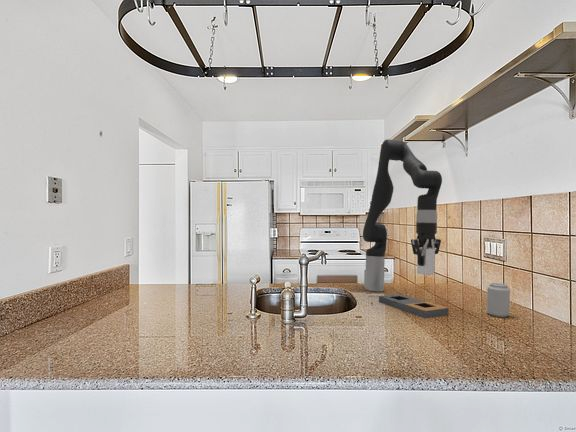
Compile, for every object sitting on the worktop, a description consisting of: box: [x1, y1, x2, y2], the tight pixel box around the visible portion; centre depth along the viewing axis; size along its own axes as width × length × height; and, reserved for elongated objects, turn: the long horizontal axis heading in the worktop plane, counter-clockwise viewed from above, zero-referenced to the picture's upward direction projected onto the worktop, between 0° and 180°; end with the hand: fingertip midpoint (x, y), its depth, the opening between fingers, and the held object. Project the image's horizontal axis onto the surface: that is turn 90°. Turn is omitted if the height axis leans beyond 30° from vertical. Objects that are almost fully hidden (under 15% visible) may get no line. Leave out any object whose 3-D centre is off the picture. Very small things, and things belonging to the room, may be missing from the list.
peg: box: [416, 248, 436, 276], centre depth 141 cm, size 4×4×10 cm
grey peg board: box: [378, 293, 449, 319], centre depth 147 cm, size 26×12×3 cm, turn 25°
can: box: [486, 282, 511, 318], centre depth 139 cm, size 8×8×12 cm
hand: (425, 265), depth 141 cm, fingers closed on peg, 4 cm apart
